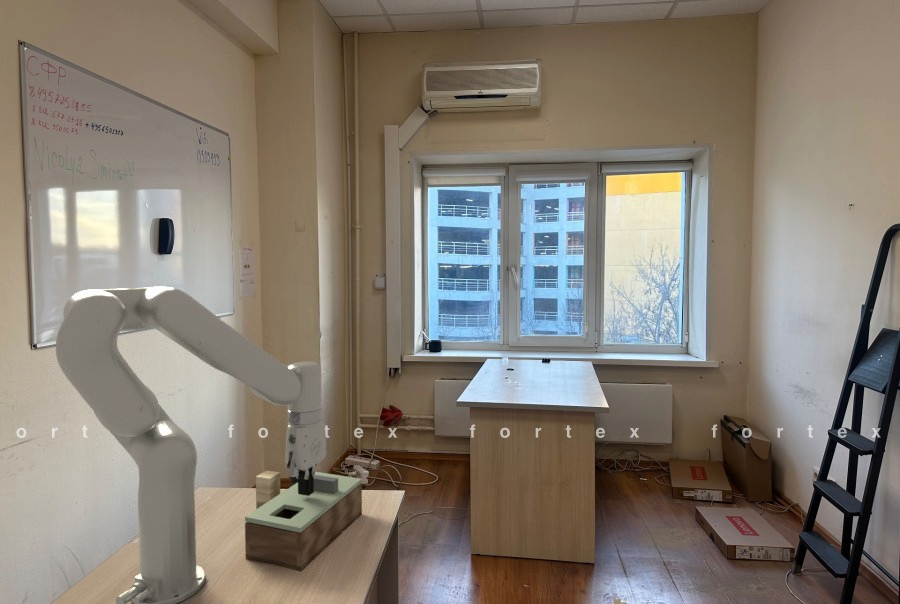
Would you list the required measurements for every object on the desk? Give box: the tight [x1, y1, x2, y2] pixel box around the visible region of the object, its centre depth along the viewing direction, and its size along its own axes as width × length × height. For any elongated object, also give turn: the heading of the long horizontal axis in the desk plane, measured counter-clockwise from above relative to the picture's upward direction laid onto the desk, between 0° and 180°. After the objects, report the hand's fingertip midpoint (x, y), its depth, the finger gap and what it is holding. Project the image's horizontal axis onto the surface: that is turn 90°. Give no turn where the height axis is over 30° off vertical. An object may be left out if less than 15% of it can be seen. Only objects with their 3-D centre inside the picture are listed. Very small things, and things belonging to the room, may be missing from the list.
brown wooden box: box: [244, 483, 363, 572], centre depth 118 cm, size 26×14×8 cm, turn 162°
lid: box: [244, 471, 363, 533], centre depth 117 cm, size 26×14×4 cm, turn 162°
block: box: [255, 470, 281, 510], centre depth 123 cm, size 4×4×12 cm
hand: (305, 493), depth 116 cm, fingers closed
